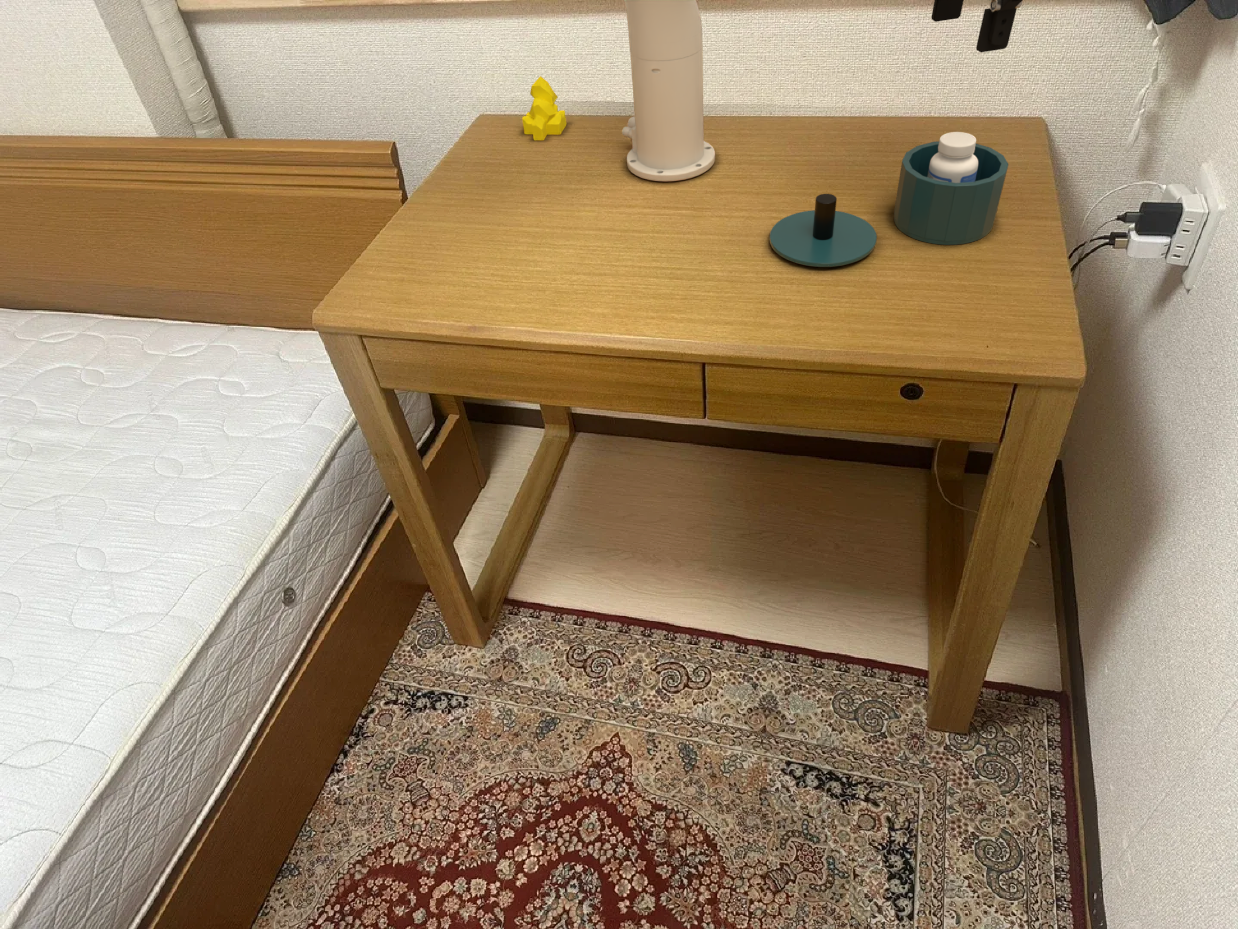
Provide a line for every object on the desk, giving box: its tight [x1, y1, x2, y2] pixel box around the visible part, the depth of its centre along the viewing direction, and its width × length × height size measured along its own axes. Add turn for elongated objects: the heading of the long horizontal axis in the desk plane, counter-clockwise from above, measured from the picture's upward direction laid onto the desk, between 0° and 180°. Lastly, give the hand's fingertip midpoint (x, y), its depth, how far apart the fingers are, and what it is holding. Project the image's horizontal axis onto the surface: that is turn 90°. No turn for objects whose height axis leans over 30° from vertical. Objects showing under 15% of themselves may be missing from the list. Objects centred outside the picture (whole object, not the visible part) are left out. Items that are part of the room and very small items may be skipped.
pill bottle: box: [928, 131, 978, 183], centre depth 101 cm, size 6×5×10 cm
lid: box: [769, 193, 878, 268], centre depth 101 cm, size 13×13×6 cm
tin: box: [893, 140, 1009, 246], centre depth 102 cm, size 12×12×8 cm
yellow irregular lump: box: [521, 75, 567, 141], centre depth 132 cm, size 6×8×8 cm
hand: (967, 33), depth 91 cm, fingers open, 9 cm apart
